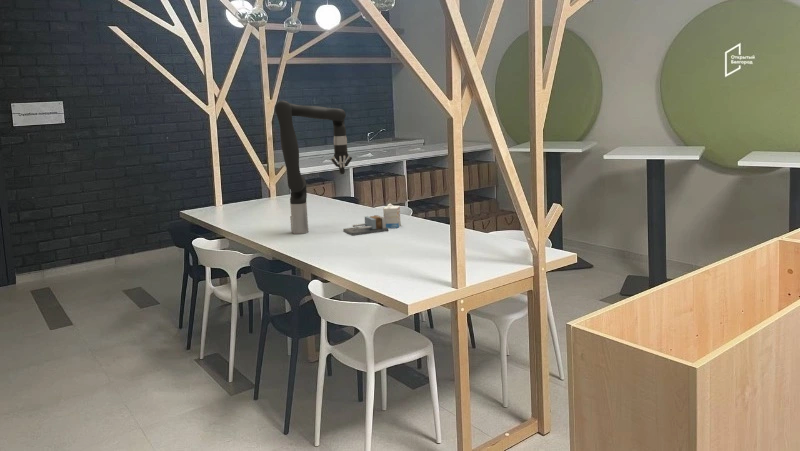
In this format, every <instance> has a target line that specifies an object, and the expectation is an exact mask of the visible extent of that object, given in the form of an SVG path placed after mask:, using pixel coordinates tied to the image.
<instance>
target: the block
mask: <svg viewBox="0 0 800 451" xmlns="http://www.w3.org/2000/svg"><path fill="white" fill-rule="evenodd" d="M369 217H371V218H373V219H376V229H377V228H381V218H380V217H378V216H374V215H372V216H371V215H370V216H369Z"/></svg>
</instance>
